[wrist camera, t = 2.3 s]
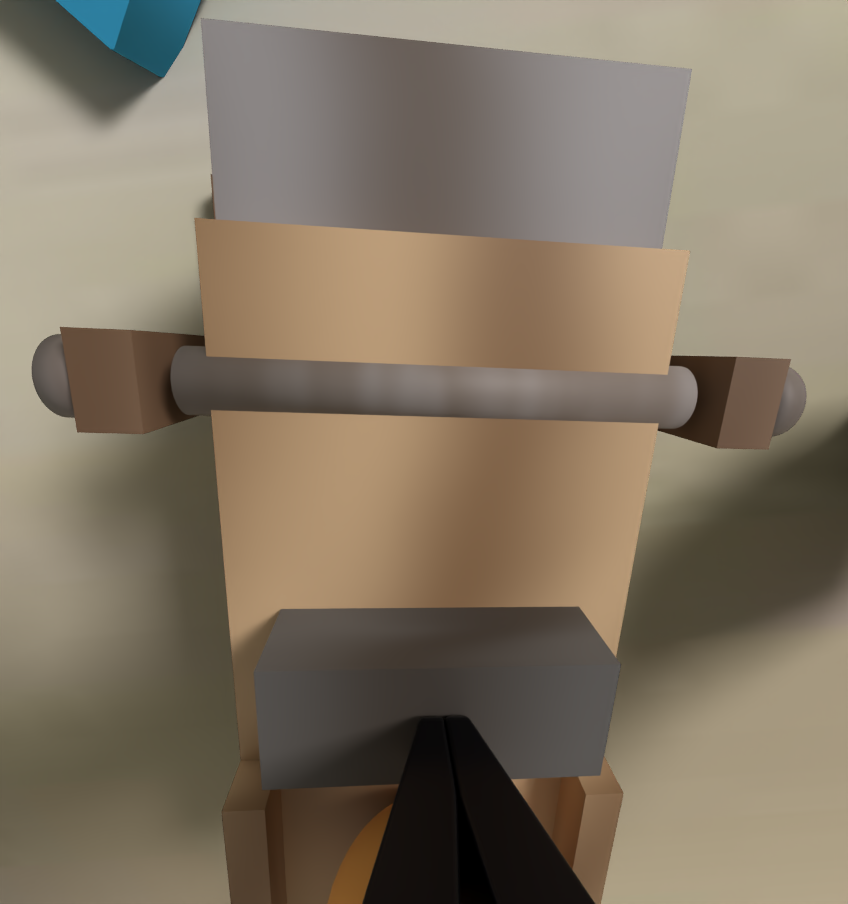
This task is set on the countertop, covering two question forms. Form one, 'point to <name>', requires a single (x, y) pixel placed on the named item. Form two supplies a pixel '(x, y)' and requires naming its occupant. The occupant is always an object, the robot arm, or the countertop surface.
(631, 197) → the tipping lever
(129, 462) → the countertop surface
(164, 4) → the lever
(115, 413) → the lever stand
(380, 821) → the ball
